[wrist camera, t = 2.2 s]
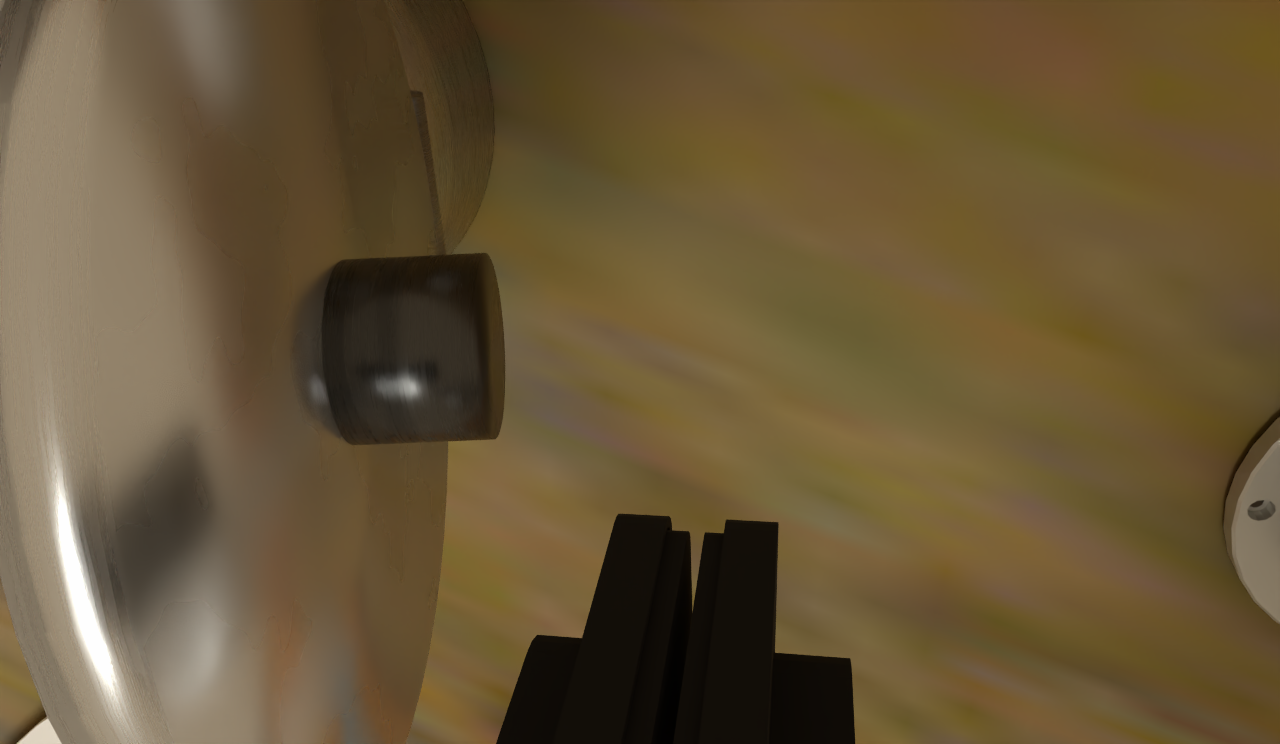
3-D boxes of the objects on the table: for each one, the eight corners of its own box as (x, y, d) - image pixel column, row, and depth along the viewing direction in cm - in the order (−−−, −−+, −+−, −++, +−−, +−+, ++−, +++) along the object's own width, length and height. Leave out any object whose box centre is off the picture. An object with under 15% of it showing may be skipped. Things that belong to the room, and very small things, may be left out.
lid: (329, -170, 21) (497, -179, 21) (434, 459, 29) (559, 453, 29) (-360, -176, 6) (197, -205, 6) (232, 1123, 14) (488, 1114, 14)
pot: (429, -525, 26) (230, -701, 17) (522, 321, 37) (431, 472, 29) (-119, -463, 28) (-531, -588, 20) (126, 309, 40) (-67, 443, 31)
